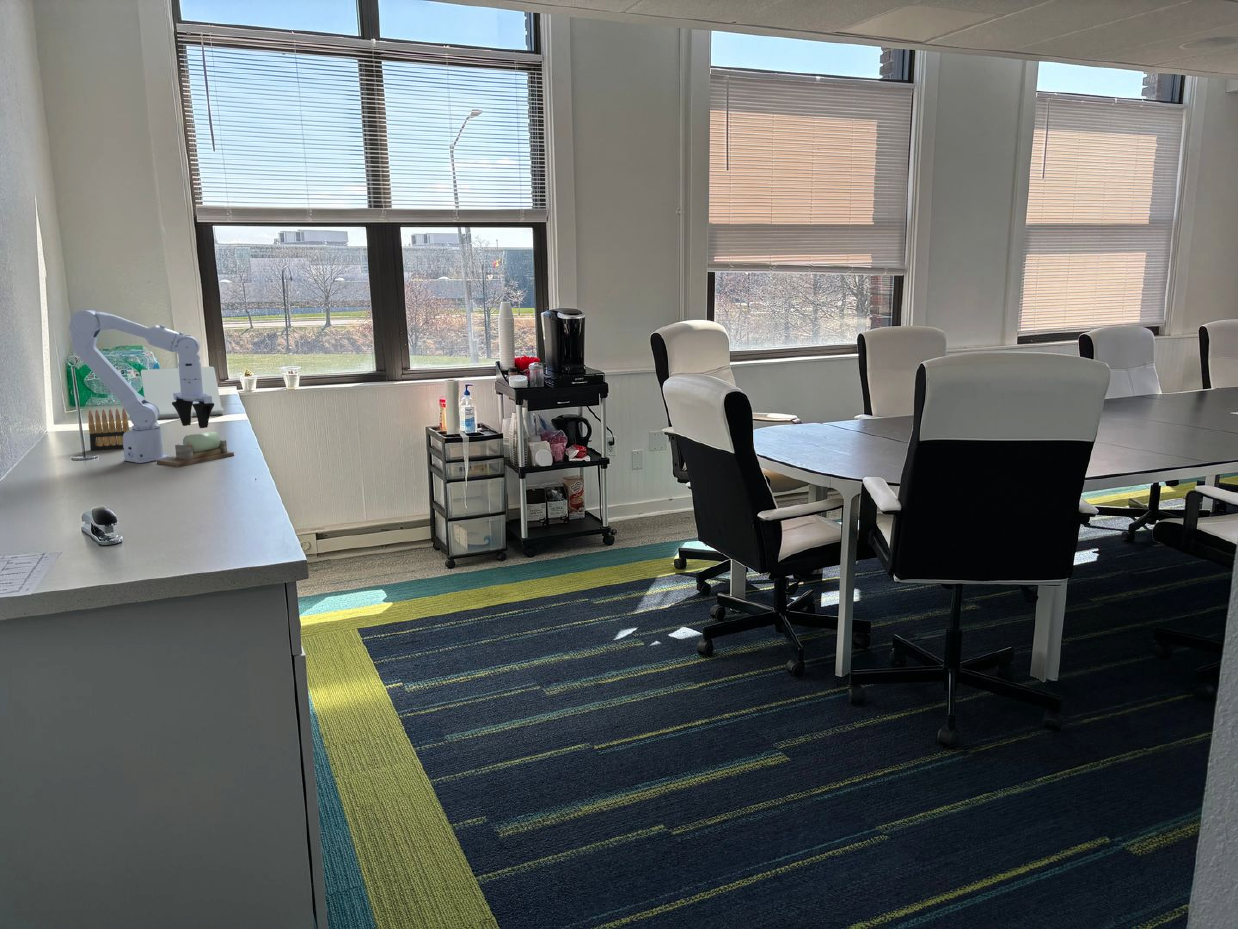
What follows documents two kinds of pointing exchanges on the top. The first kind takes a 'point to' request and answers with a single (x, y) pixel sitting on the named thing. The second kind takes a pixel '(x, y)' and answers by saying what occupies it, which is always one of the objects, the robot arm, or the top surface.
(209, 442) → the roll
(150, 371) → the tablet stand
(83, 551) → the top surface
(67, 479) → the top surface
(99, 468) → the top surface
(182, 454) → the holder
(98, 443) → the ammunition clip
